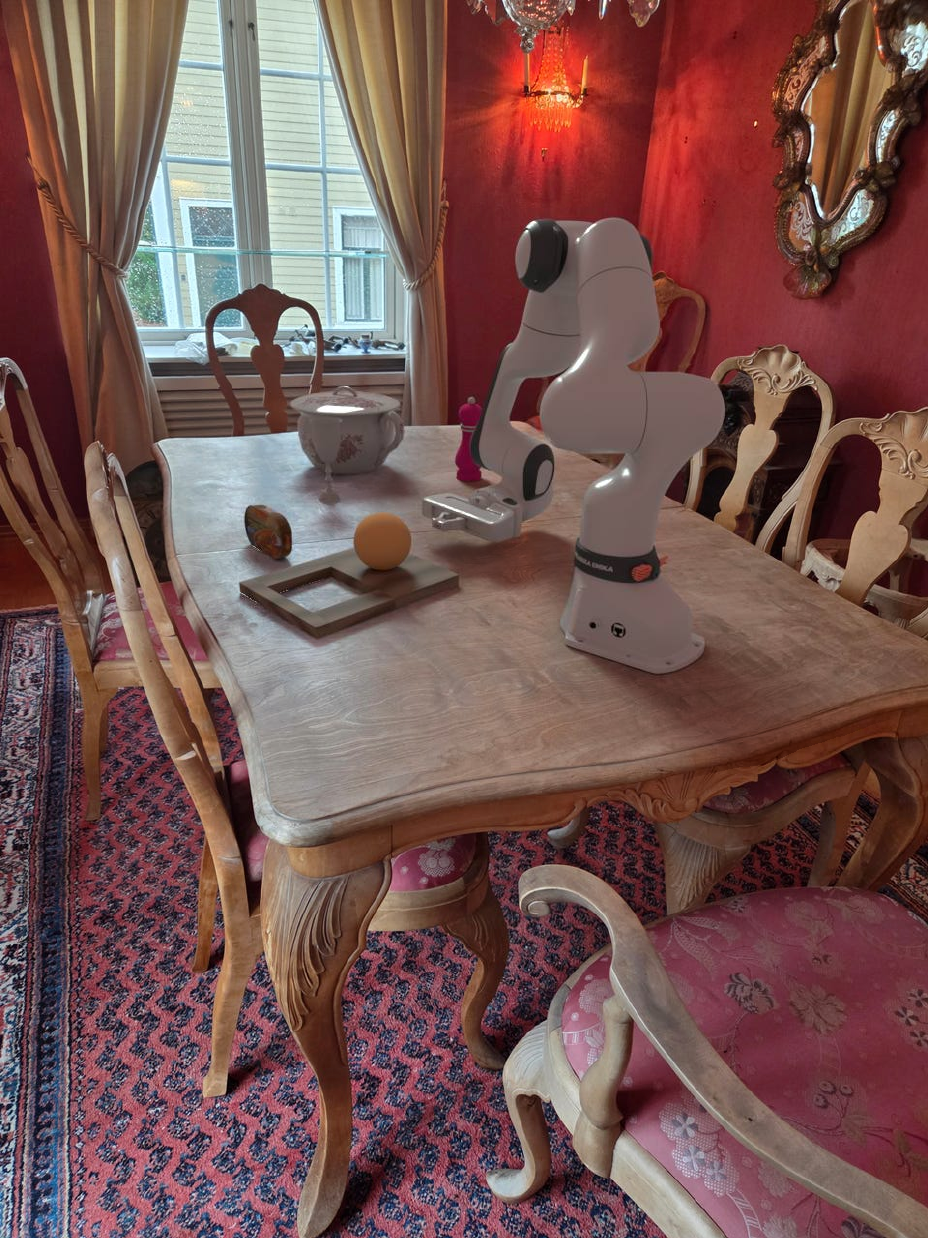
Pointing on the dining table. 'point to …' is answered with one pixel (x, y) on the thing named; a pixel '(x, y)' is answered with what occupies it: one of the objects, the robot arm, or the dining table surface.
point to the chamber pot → (352, 428)
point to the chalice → (327, 450)
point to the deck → (377, 585)
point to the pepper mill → (468, 442)
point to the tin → (268, 531)
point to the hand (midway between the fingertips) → (437, 525)
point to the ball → (382, 541)
